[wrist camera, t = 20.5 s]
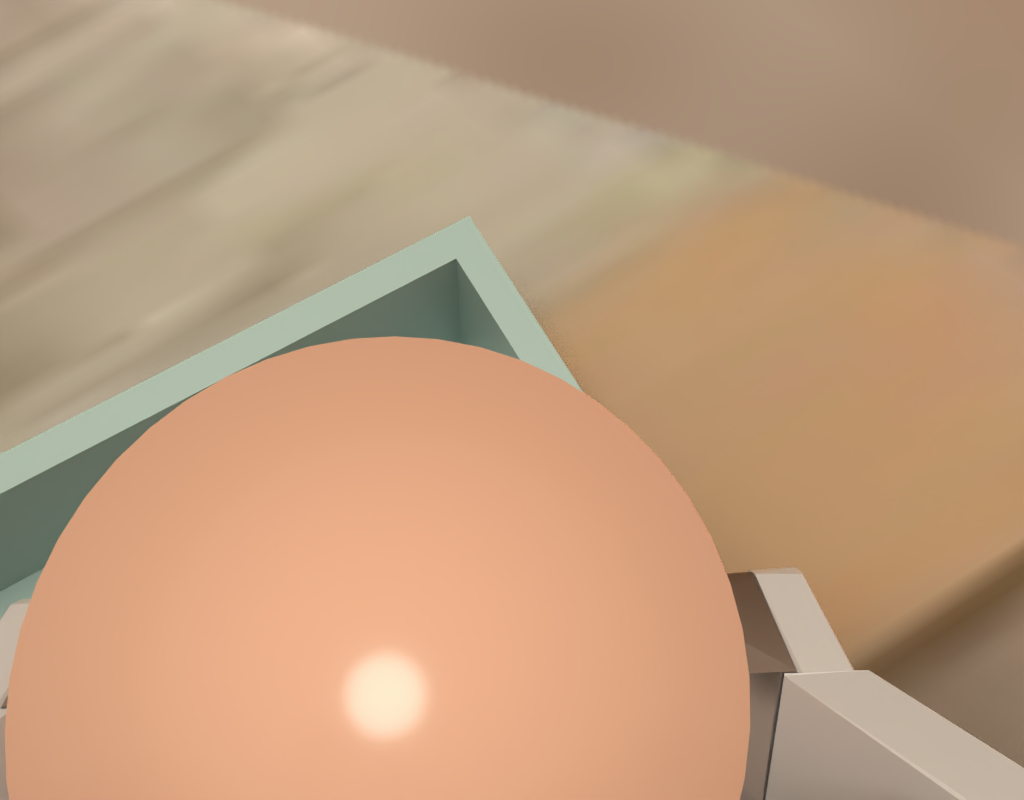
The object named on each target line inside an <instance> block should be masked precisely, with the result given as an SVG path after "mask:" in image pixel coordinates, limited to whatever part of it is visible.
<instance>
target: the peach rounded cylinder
mask: <svg viewBox="0 0 1024 800" xmlns="http://www.w3.org/2000/svg"><path fill="white" fill-rule="evenodd" d="M749 735H750V680H749V670H748V663H747V656H746V649H745V642H744V635H743V628H742V624H741V621H740V617H739V613H738V610H737V606H736V602H735V599H734V595H733V591H732V588H731V584H730V581H729V578H728V576H727V573H726V571H725V569H724V566H723V564H722V561H721V559H720V556H719V554H718V552H717V549H716V547H715V544H714V542H713V539H712V537H711V535H710V534H709V532H708V530H707V528H706V527H705V525H704V523H703V521H702V520H701V518H700V516H699V514H698V512H697V511H696V509H695V507H694V505H693V504H692V502H691V500H690V498H689V497H688V495H687V494H686V493H685V491H684V490H683V489H682V487H681V486H680V485H679V483H678V482H677V481H676V479H675V478H674V477H673V475H672V474H671V473H670V471H669V470H668V469H667V467H666V466H665V465H664V463H663V462H662V461H661V460H660V459H659V458H658V456H657V455H656V454H655V453H654V452H653V451H652V450H651V449H650V448H649V447H648V446H647V445H646V444H645V443H644V442H643V441H642V440H641V439H640V438H639V437H638V436H637V435H636V434H635V432H634V431H633V430H632V429H631V428H629V427H628V426H627V425H626V424H624V423H623V422H622V421H621V420H619V419H618V418H617V417H616V416H615V415H613V414H612V413H611V412H610V411H608V410H607V409H606V408H605V407H603V406H602V405H601V404H600V403H599V402H597V401H596V400H594V399H593V398H591V397H589V396H588V395H586V394H585V393H583V392H581V391H580V390H578V389H577V388H575V387H573V386H572V385H570V384H569V383H567V382H565V381H564V380H562V379H561V378H558V377H556V376H554V375H552V374H550V373H548V372H545V371H543V370H541V369H539V368H537V367H535V366H533V365H530V364H528V363H526V362H524V361H522V360H519V359H516V358H513V357H510V356H506V355H503V354H500V353H497V352H494V351H491V350H488V349H485V348H481V347H477V346H472V345H466V344H461V343H456V342H451V341H445V340H440V339H428V338H413V337H397V336H392V337H375V338H357V339H348V340H342V341H337V342H331V343H325V344H320V345H314V346H309V347H305V348H302V349H299V350H295V351H292V352H289V353H286V354H282V355H279V356H276V357H272V358H269V359H266V360H264V361H261V362H259V363H257V364H255V365H252V366H250V367H248V368H246V369H243V370H241V371H239V372H236V373H234V374H232V375H230V376H227V377H225V378H223V379H222V380H220V381H218V382H217V383H215V384H213V385H211V386H210V387H208V388H206V389H205V390H203V391H201V392H200V393H198V394H196V395H194V396H193V397H191V398H189V399H188V400H186V401H185V402H183V403H182V404H181V405H179V406H178V407H177V408H175V409H174V410H173V411H171V412H170V413H169V414H167V415H166V416H165V417H163V418H162V419H161V420H159V421H158V422H157V423H155V424H154V425H153V426H152V427H150V428H149V429H148V430H147V431H146V432H145V433H144V434H143V435H142V436H141V437H140V438H139V439H137V440H136V441H135V442H134V443H133V444H132V445H131V446H130V447H129V448H128V449H127V450H126V451H125V452H124V453H123V454H122V455H121V456H120V457H119V458H118V459H117V460H116V461H115V462H114V463H113V464H112V465H111V467H110V468H109V469H108V470H107V471H106V473H105V474H104V475H103V476H102V477H101V479H100V480H99V481H98V482H97V483H96V485H95V486H94V487H93V488H92V490H91V491H90V492H89V493H88V494H87V496H86V497H85V498H84V500H83V501H82V503H81V504H80V506H79V507H78V509H77V510H76V512H75V514H74V515H73V517H72V518H71V520H70V521H69V523H68V524H67V526H66V527H65V529H64V531H63V532H62V534H61V535H60V537H59V538H58V540H57V542H56V544H55V546H54V549H53V551H52V553H51V555H50V557H49V559H48V561H47V563H46V565H45V567H44V569H43V571H42V573H41V575H40V577H39V579H38V581H37V583H36V586H35V589H34V592H33V595H32V598H31V601H30V603H29V606H28V609H27V612H26V615H25V618H24V621H23V623H22V626H21V629H20V633H19V638H18V642H17V647H16V651H15V656H14V661H13V665H12V670H11V674H10V679H9V689H8V700H7V711H6V722H5V754H6V780H7V789H8V794H9V800H740V796H741V792H742V788H743V784H744V780H745V772H746V763H747V753H748V744H749Z"/></svg>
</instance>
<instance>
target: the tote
mask: <svg viewBox="0 0 1024 800" xmlns="http://www.w3.org/2000/svg"><path fill="white" fill-rule="evenodd" d="M392 336H397V337H413V338H428V339H440V340H445V341H451V342H456V343H461V344H466V345H472V346H477V347H481V348H485V349H488V350H491V351H494V352H497V353H500V354H503V355H506V356H510V357H513V358H516V359H519V360H522V361H524V362H526V363H528V364H530V365H533V366H535V367H537V368H539V369H541V370H543V371H545V372H548V373H550V374H552V375H554V376H556V377H558V378H561V379H562V380H564V381H565V382H567V383H569V384H570V385H572V386H573V387H575V388H577V389H578V390H580V391H581V392H582V390H581V388H580V387H579V385H578V384H577V382H576V381H575V379H574V378H573V376H572V374H571V373H570V371H569V370H568V368H567V367H566V365H565V364H564V362H563V361H562V359H561V357H560V356H559V354H558V353H557V351H556V350H555V348H554V347H553V345H552V343H551V342H550V340H549V339H548V337H547V336H546V334H545V333H544V331H543V330H542V328H541V326H540V325H539V323H538V322H537V320H536V319H535V317H534V316H533V314H532V312H531V311H530V309H529V308H528V306H527V305H526V303H525V302H524V300H523V298H522V297H521V295H520V294H519V292H518V291H517V289H516V288H515V286H514V285H513V283H512V281H511V280H510V278H509V277H508V275H507V274H506V272H505V271H504V269H503V267H502V266H501V264H500V263H499V261H498V260H497V258H496V257H495V255H494V254H493V252H492V250H491V249H490V247H489V246H488V244H487V243H486V241H485V240H484V238H483V236H482V235H481V233H480V232H479V230H478V229H477V227H476V226H475V224H474V223H473V221H472V219H471V218H470V216H468V217H466V218H464V219H462V220H460V221H458V222H456V223H454V224H452V225H450V226H448V227H446V228H444V229H442V230H440V231H438V232H436V233H434V234H432V235H430V236H428V237H426V238H424V239H423V240H421V241H419V242H417V243H415V244H413V245H411V246H409V247H407V248H405V249H403V250H401V251H399V252H397V253H395V254H393V255H391V256H389V257H387V258H385V259H383V260H381V261H379V262H377V263H375V264H373V265H371V266H369V267H367V268H365V269H364V270H362V271H360V272H358V273H356V274H354V275H352V276H350V277H348V278H346V279H344V280H342V281H340V282H338V283H336V284H334V285H332V286H330V287H328V288H326V289H324V290H322V291H320V292H318V293H316V294H314V295H312V296H310V297H308V298H306V299H305V300H303V301H301V302H299V303H297V304H295V305H293V306H291V307H289V308H287V309H285V310H283V311H281V312H279V313H277V314H275V315H273V316H271V317H269V318H267V319H265V320H263V321H261V322H259V323H257V324H255V325H253V326H251V327H249V328H247V329H246V330H244V331H242V332H240V333H238V334H236V335H234V336H232V337H230V338H228V339H226V340H224V341H222V342H220V343H218V344H216V345H214V346H212V347H210V348H208V349H206V350H204V351H202V352H200V353H198V354H196V355H194V356H192V357H190V358H189V359H187V360H185V361H183V362H181V363H179V364H177V365H175V366H173V367H171V368H169V369H167V370H165V371H163V372H161V373H159V374H157V375H155V376H153V377H151V378H149V379H147V380H145V381H143V382H141V383H139V384H137V385H135V386H133V387H131V388H130V389H128V390H126V391H124V392H122V393H120V394H118V395H116V396H114V397H112V398H110V399H108V400H106V401H104V402H102V403H100V404H98V405H96V406H94V407H92V408H90V409H88V410H86V411H84V412H82V413H80V414H78V415H76V416H74V417H72V418H71V419H69V420H67V421H65V422H63V423H61V424H59V425H57V426H55V427H53V428H51V429H49V430H47V431H45V432H43V433H41V434H39V435H37V436H35V437H33V438H31V439H29V440H27V441H25V442H23V443H21V444H19V445H17V446H15V447H13V448H12V449H10V450H8V451H6V452H4V453H2V454H0V619H1V618H2V616H3V615H4V613H5V612H6V610H7V609H8V607H9V606H10V605H11V604H13V603H15V602H17V601H19V600H21V599H31V598H32V595H33V592H34V589H35V586H36V583H37V581H38V579H39V577H40V575H41V573H42V571H43V569H44V567H45V565H46V563H47V561H48V559H49V557H50V555H51V553H52V551H53V549H54V546H55V544H56V542H57V540H58V538H59V537H60V535H61V534H62V532H63V531H64V529H65V527H66V526H67V524H68V523H69V521H70V520H71V518H72V517H73V515H74V514H75V512H76V510H77V509H78V507H79V506H80V504H81V503H82V501H83V500H84V498H85V497H86V496H87V494H88V493H89V492H90V491H91V490H92V488H93V487H94V486H95V485H96V483H97V482H98V481H99V480H100V479H101V477H102V476H103V475H104V474H105V473H106V471H107V470H108V469H109V468H110V467H111V465H112V464H113V463H114V462H115V461H116V460H117V459H118V458H119V457H120V456H121V455H122V454H123V453H124V452H125V451H126V450H127V449H128V448H129V447H130V446H131V445H132V444H133V443H134V442H135V441H136V440H137V439H139V438H140V437H141V436H142V435H143V434H144V433H145V432H146V431H147V430H148V429H149V428H150V427H152V426H153V425H154V424H155V423H157V422H158V421H159V420H161V419H162V418H163V417H165V416H166V415H167V414H169V413H170V412H171V411H173V410H174V409H175V408H177V407H178V406H179V405H181V404H182V403H183V402H185V401H186V400H188V399H189V398H191V397H193V396H194V395H196V394H198V393H200V392H201V391H203V390H205V389H206V388H208V387H210V386H211V385H213V384H215V383H217V382H218V381H220V380H222V379H223V378H225V377H227V376H230V375H232V374H234V373H236V372H239V371H241V370H243V369H246V368H248V367H250V366H252V365H255V364H257V363H259V362H261V361H264V360H266V359H269V358H272V357H276V356H279V355H282V354H286V353H289V352H292V351H295V350H299V349H302V348H305V347H309V346H314V345H320V344H325V343H331V342H337V341H342V340H348V339H357V338H375V337H392Z"/></svg>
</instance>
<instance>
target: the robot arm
mask: <svg viewBox="0 0 1024 800" xmlns="http://www.w3.org/2000/svg"><path fill="white" fill-rule="evenodd" d="M727 576H728V578H729V581H730V584H731V588H732V591H733V595H734V599H735V602H736V606H737V610H738V613H739V617H740V621H741V624H742V628H743V635H744V642H745V649H746V656H747V663H748V670H749V680H750V735H749V744H748V753H747V763H746V772H745V780H744V784H743V788H742V792H741V796H740V800H1024V768H1023V767H1021V766H1020V765H1018V764H1017V763H1015V762H1013V761H1012V760H1010V759H1009V758H1007V757H1006V756H1004V755H1002V754H1001V753H999V752H998V751H996V750H994V749H993V748H991V747H990V746H988V745H987V744H985V743H983V742H982V741H980V740H979V739H977V738H975V737H974V736H972V735H971V734H969V733H967V732H966V731H964V730H963V729H961V728H960V727H958V726H956V725H955V724H953V723H952V722H950V721H948V720H947V719H945V718H944V717H942V716H941V715H939V714H937V713H936V712H934V711H933V710H931V709H929V708H928V707H926V706H925V705H923V704H921V703H920V702H918V701H917V700H915V699H914V698H912V697H910V696H909V695H907V694H906V693H904V692H902V691H901V690H899V689H898V688H896V687H895V686H893V685H891V684H890V683H888V682H887V681H885V680H883V679H882V678H880V677H879V676H877V675H875V674H874V673H872V672H871V671H869V670H857V671H854V669H853V667H852V665H851V663H850V661H849V659H848V658H847V656H846V654H845V652H844V650H843V648H842V646H841V644H840V643H839V641H838V639H837V637H836V635H835V633H834V631H833V629H832V628H831V626H830V624H829V622H828V620H827V618H826V616H825V614H824V613H823V611H822V609H821V607H820V605H819V603H818V601H817V599H816V598H815V596H814V594H813V592H812V590H811V588H810V586H809V584H808V583H807V581H806V579H805V577H804V575H803V573H802V572H801V571H800V570H798V569H797V568H795V567H788V568H773V569H758V570H749V571H748V572H734V573H727ZM30 601H31V599H21V600H19V601H17V602H15V603H13V604H11V605H10V606H9V607H8V609H7V610H6V612H5V613H4V615H3V616H2V618H1V619H0V800H9V794H8V789H7V780H6V754H5V722H6V711H7V700H8V689H9V679H10V674H11V670H12V665H13V661H14V656H15V651H16V647H17V642H18V638H19V633H20V629H21V626H22V623H23V621H24V618H25V615H26V612H27V609H28V606H29V603H30Z"/></svg>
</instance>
